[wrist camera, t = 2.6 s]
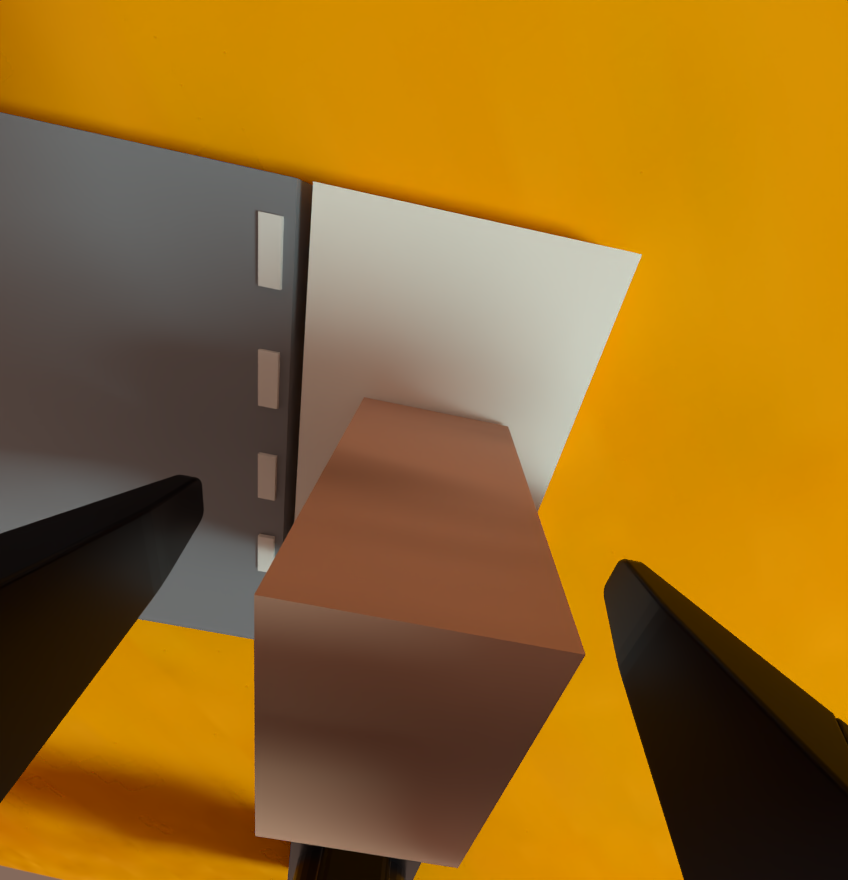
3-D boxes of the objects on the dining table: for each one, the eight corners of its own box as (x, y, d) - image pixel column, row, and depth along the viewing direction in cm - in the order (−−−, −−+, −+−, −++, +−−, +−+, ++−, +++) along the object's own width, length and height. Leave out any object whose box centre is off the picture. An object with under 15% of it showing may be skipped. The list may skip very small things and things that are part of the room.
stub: (467, 650, 13) (482, 949, 7) (298, 619, 13) (185, 904, 7) (618, 253, 7) (1084, 270, 2) (329, 189, 7) (-30, 14, 2)
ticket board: (290, 615, 13) (277, 646, 12) (-89, 547, 12) (-136, 573, 11) (315, 187, 7) (295, 177, 6) (-358, 37, 7) (-493, 1, 6)
